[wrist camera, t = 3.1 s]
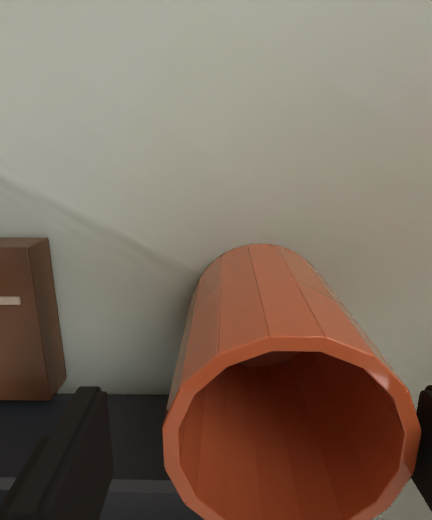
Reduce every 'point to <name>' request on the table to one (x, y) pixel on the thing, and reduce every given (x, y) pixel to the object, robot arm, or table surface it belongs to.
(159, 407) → the dark grey square tray
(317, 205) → the table surface
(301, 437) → the cup
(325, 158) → the table surface
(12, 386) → the panel
